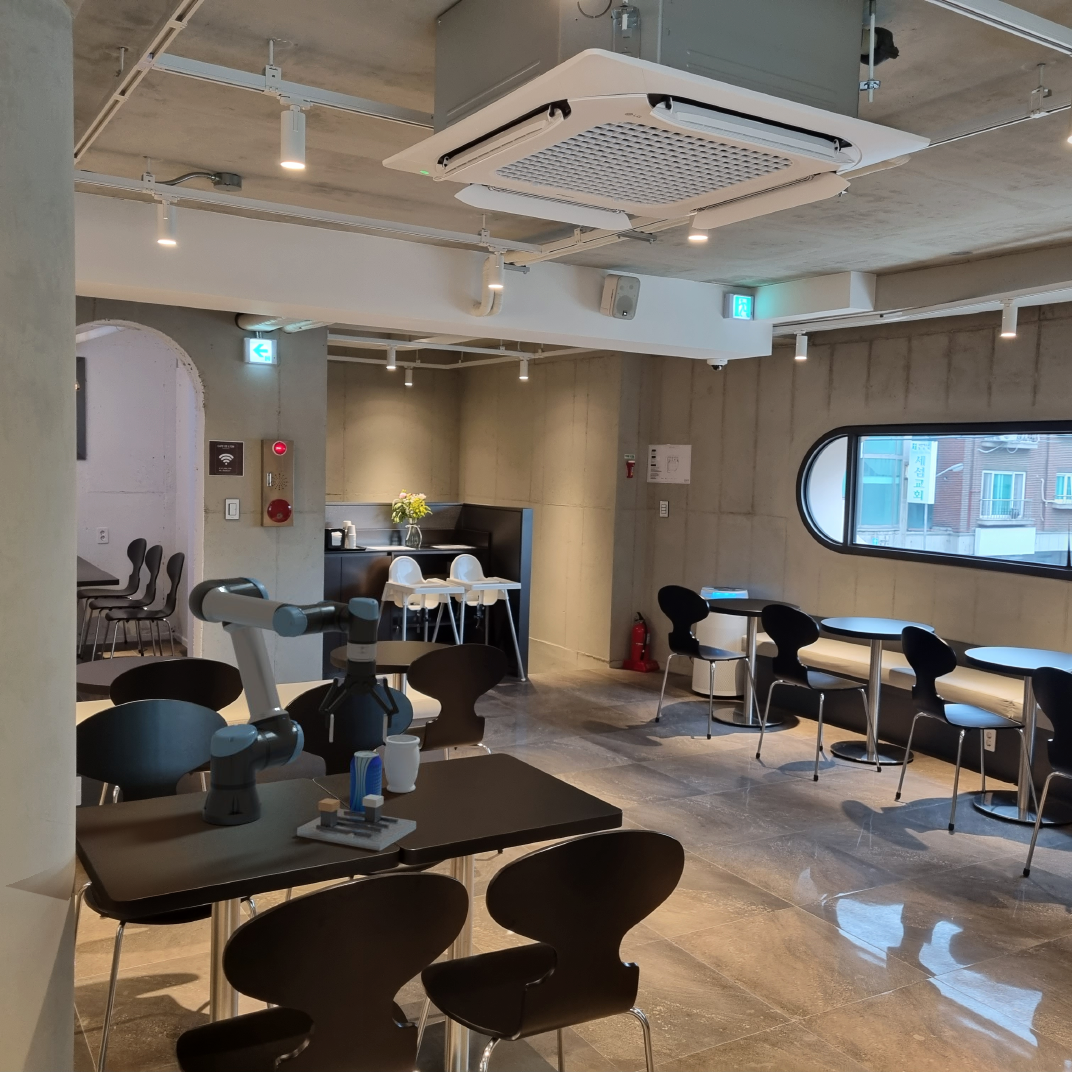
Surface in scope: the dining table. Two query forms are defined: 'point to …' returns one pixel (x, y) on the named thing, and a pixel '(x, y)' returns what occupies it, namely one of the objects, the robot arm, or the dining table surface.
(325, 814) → the fader
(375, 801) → the fader
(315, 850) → the dining table surface
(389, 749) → the jar
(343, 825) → the console
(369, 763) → the beer can
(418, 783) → the dining table surface
